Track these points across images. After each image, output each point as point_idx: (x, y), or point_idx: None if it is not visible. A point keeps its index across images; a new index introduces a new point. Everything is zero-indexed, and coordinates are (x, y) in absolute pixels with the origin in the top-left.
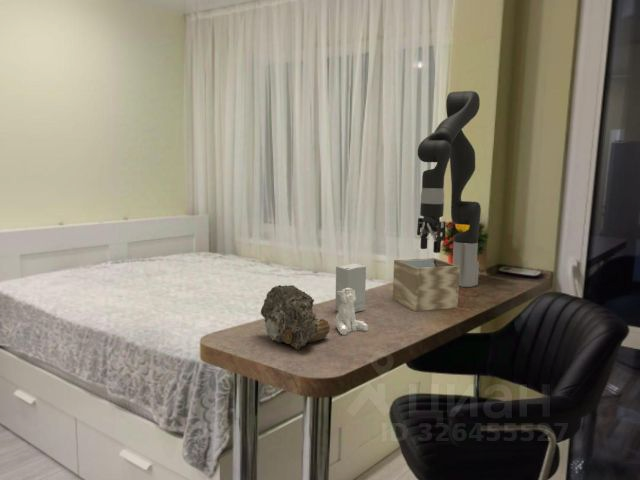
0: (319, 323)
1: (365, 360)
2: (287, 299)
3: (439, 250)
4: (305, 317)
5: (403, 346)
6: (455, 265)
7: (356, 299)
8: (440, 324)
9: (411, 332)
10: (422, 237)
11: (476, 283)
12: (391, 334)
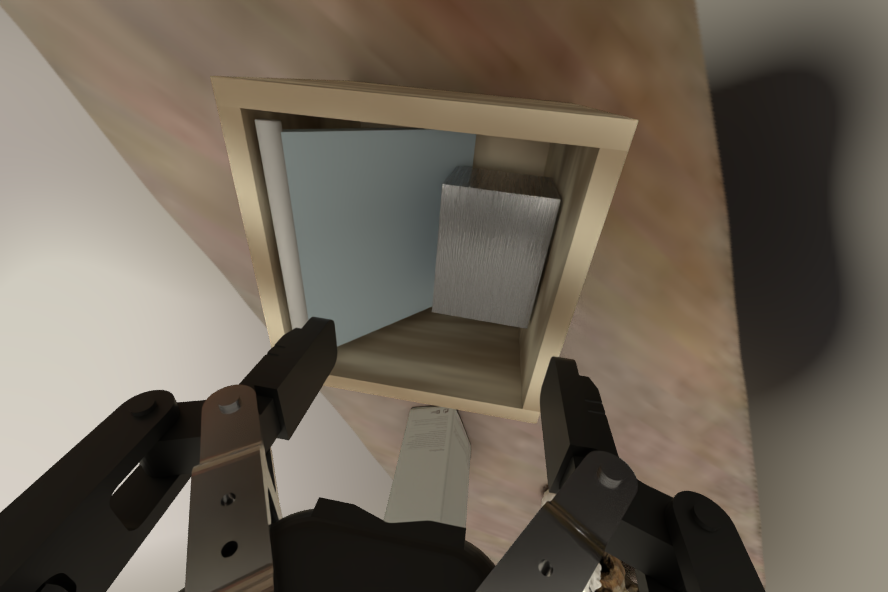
0: (618, 587)
1: (747, 547)
2: None
3: (591, 390)
4: None
5: (750, 479)
6: (582, 130)
7: (462, 459)
8: (697, 320)
9: (689, 419)
10: (274, 437)
11: None
12: (665, 456)
